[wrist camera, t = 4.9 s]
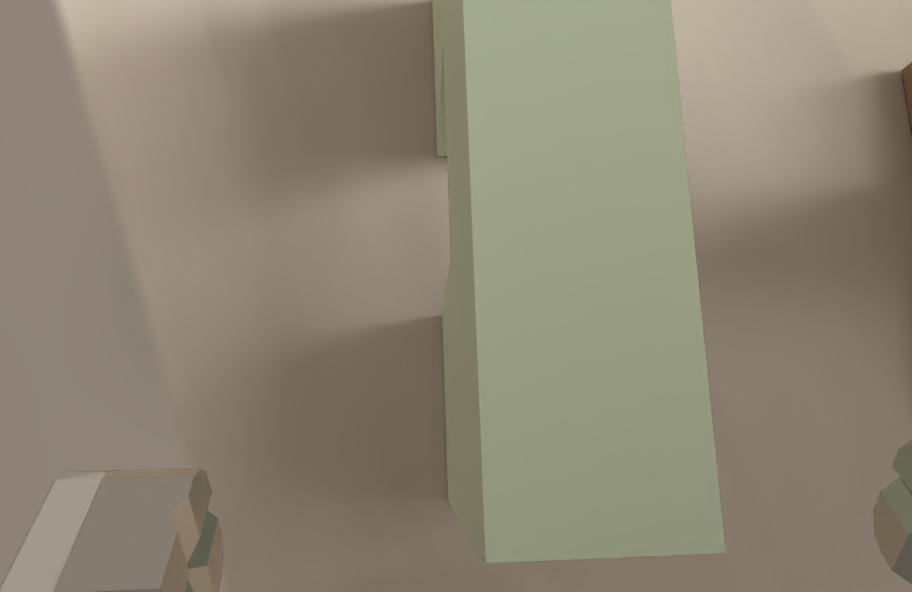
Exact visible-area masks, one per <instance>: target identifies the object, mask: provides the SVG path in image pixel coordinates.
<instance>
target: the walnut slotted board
mask: <svg viewBox="0 0 912 592" xmlns="http://www.w3.org/2000/svg"><path fill="white" fill-rule="evenodd" d="M902 74H903V80H904V86H905V92H906V98H907V105H908V111H909V117H910V123H911V129H912V63H910V64H909V65H908V66H907V67H905V68H904V69H903V70H902Z"/></svg>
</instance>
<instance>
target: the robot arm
mask: <svg viewBox="0 0 912 592" xmlns="http://www.w3.org/2000/svg"><path fill="white" fill-rule="evenodd" d="M892 466H893V467H894V469H895V471H896V473H897V475H898V477H899V478H898V479H896V480H895V481H894V482H893V483H891V484H890V485H889V486H887V487H886V488H885V489H883V490H882V491H881V492H880V495H879V497H878V500H877V503H876V506H875V508H874V511H873V516H874V533H875V537H876V539H877V542H878V545H879V548H880V551H881V553H882V555H883V556H884V558H885V560H886V561H887V563H888V565H889V566H890V568H891V570H892V571H894V572H895V573H897V574H898V575H900V576H901V577H902V578H904V579H905V580H907V581H908V582H910V583H911V584H912V441H910V442H908V443H907V444H906V445H904V446H903V447H902V448H901V449H899V451H898V454H897V456H896V458H895V460H894V462H893V465H892ZM211 493H212V491H211V488H210V484H209V481H208V477H207V474H206V471H203V470H201V469H173V470H172V469H164V470H111V471H90V472H89V471H84V472H65V473H64V474H62V475H61V476H60V477H59V478H58V479H57V480H56V481H55V482H54V483H53V485H52V487H51V489H50V491H49V492H48V494H47V497H46V498H45V501H44V502H43V504H42V507H41V508H40V511H39V512H38V514H37V516H36V518H35V520H34V522H33V524H32V526H31V528H30V530H29V532H28V534H27V536H26V538H25V540H24V542H23V544H22V546H21V548H20V550H19V552H18V554H17V556H16V558H15V560H14V562H13V564H12V566H11V568H10V570H9V572H8V574H7V576H6V578H5V580H4V582H3V584H2V586H1V588H0V592H218V591H219V586H220V581H221V572H222V559H223V547H222V534H221V530H220V525H219V521H218V519H217V518H216V517H215V516H213V515H212V514H211V513H210V512H208V511H207V508H208V505H209V501H210V497H211Z"/></svg>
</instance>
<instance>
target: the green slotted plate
mask: <svg viewBox="0 0 912 592" xmlns="http://www.w3.org/2000/svg"><path fill="white" fill-rule="evenodd" d="M432 13H433V44H434V76H435V107H436V138H437V157H443V156H447V165H448V193H449V222H450V251H451V258H450V265H449V272H448V278H447V285H446V292H445V299H444V306H443V312H442V326H443V358H444V389H445V420H446V452H447V483H448V502H449V504H450V506H451V507H452V509H453V511H454V512H455V514H456V516H457V517H458V519H459V520H460V522H461V524H462V525H463V527H464V529H465V530H466V532H467V533H468V535H469V537H470V538H471V540H472V542H473V543H474V545H475V547H476V548H477V550H478V551H479V553H480V555H481V556H482V558H483V560H484V561H485V563H509V562H532V561H555V560H579V559H602V558H626V557H649V556H672V555H696V554H719V553H726V550H725V540H724V530H723V520H722V510H721V500H720V491H719V481H718V471H717V461H716V451H715V441H714V431H713V421H712V411H711V401H710V391H709V381H708V371H707V361H706V351H705V341H704V331H703V321H702V311H701V301H700V291H699V281H698V271H697V262H696V252H695V242H694V232H693V222H692V212H691V202H690V192H689V182H688V172H687V162H686V152H685V142H684V132H683V122H682V112H681V102H680V92H679V82H678V72H677V62H676V52H675V42H674V33H673V23H672V13H671V3H670V0H432Z"/></svg>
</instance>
